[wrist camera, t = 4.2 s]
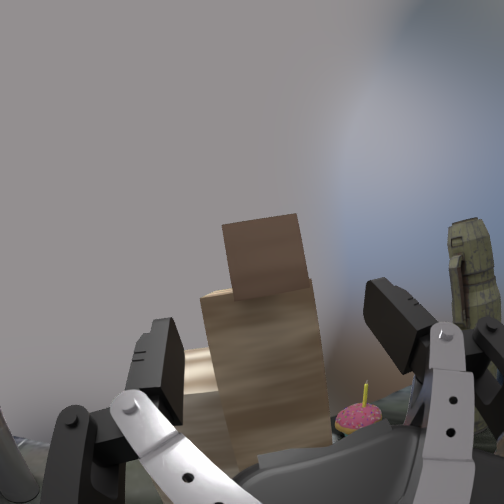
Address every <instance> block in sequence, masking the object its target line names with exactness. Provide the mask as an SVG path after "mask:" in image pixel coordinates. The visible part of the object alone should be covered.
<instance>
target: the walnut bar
mask: <svg viewBox="0 0 504 504" xmlns="http://www.w3.org/2000/svg"><path fill="white" fill-rule="evenodd" d="M222 230H223V236H224V243H225V248H226V255H227V261H228V266H229V273H230V279H231V284H232V290H233V296H234V302H235V301H241V300H247V299H253V298H258V297H264V296H270V295H275V294H280V293H286V292H291V291H296V290H301V289H306V288H310V283H309V277H308V272H307V266H306V261H305V255H304V250H303V244H302V239H301V234H300V229H299V224H298V219H297V214H296V213H295V214H288V215H282V216H275V217H269V218H262V219H256V220H249V221H242V222H237V223H230V224H225V225H222Z"/></svg>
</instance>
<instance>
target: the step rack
mask: <svg viewBox="0 0 504 504" xmlns="http://www.w3.org/2000/svg"><path fill="white" fill-rule="evenodd" d="M309 283H310V288H306V289H301V290H296V291H291V292H286V293H280V294H275V295H270V296H264V297H258V298H253V299H247V300H241V301H235V302H234V296H233V290H232V288H230V289H224V290H218V291H214V292H212V293H210V294H208V295H206V296H204V297H201V298H200V302H201V308H202V313H203V319H204V324H205V329H206V335H207V340H208V345H209V347H206V348H198V349H191V350H184V353H185V374H184V399H183V426H174V428H175V429H176V430H177V431H178V432H179V433H180V432H181V433H182V434H183V435H184V436H185V437H186V438H187V439H188V440H189V441H190V442H191V443H192V444H193V445H194V446H195V447H196V448H197V449H198V450H199V451H200V452H202V453H203V454H204V455H205V456H206V457H207V458H208V459H209V460H210V461H211V462H212V463H213V464H214V465H215V466H217V467H218V468H219V469H220V470H221V471H222V472H223V473H225V474H226V475H227V476H228V477H229V478H230V479H232V478H233V477H234V476H236V475H237V474H238V473H240V472H241V471H243V470H244V469H246V468H248V467H250V466H252V465H254V464H256V463H259V462H258V457H257V455H260V454H266V453H271V452H276V451H281V450H286V449H290V448H316V447H327V446H330V445H332V432H331V421H330V411H329V401H328V392H327V383H326V375H325V367H324V360H323V352H322V344H321V337H320V330H319V323H318V317H317V311H316V304H315V298H314V292H313V286H312V280H311V279H309ZM151 479H152V481H153V483H154V485H155V487H156V489H157V491H158V493H159V495H160V497H161V499H162V501H163V503H164V504H174V503H173V502H172V501H171V500H170V498H169V497H168V496H167V495H166V494H165V493H164V492H163V490H162V489H161V488H160V487H159V486H158V484H157V483H156V482H155V481H154V479H153V478H152V477H151Z"/></svg>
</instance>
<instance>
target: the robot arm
mask: <svg viewBox="0 0 504 504" xmlns="http://www.w3.org/2000/svg"><path fill="white" fill-rule="evenodd" d="M363 315H364V319H365V322H366V324H367V326H368V327H369V328H370V330H371V331H372V332H373V334H374V335H375V336H376V338H377V339H378V341H379V342H380V344H381V345H382V346H383V348H384V349H385V351H386V352H387V353H388V355H389V356H390V358H391V359H392V360H393V362H394V363H395V365H396V366H397V368H398V369H399V371H400V372H401V373H402V374H403V375H404V374H407V373H409V372H411V371H413V372H414V374H415V375H414V377H413V382H412V389H411V395H410V401H409V406H408V412H407V416H406V419H405V422H404V424H403V425H390V424H389V422H388V420H387V418H386V419H383V420H381V421H378V422H376V423H373V424H371V425H368V426H365V427H363V428H360V429H357V430H356V431H354V432H353V433H351V434H349V435H348V436H346V437H344V438H343V439H341V440H339V441H338V442H336V443H334V444H332V445H330V446H327V447H316V448H290V449H286V450H281V451H276V452H271V453H266V454H260V455H257V457H258V462H259V463H256V464H254V465H252V466H250V467H248V468H246V469H244V470H243V471H241V472H240V473H238V474H237V475H236V476H234V477H233V478H232V479H230V478H229V477H228V476H227V475H226V474H225V473H223V472H222V471H221V470H220V469H219V468H218V467H217V466H215V465H214V464H213V463H212V462H211V461H210V460H209V459H208V458H207V457H206V456H205V455H204V454H203V453H202V452H200V451H199V450H198V449H197V448H196V447H195V446H194V445H193V444H192V443H191V442H190V441H189V440H188V439H187V438H186V437H185V436H184V435H183V434H182V433H181V432H180V433H179V432H178V431H177V430H176V429H175V428H174V426H183V399H184V374H185V353H184V348H183V345H182V342H181V339H180V336H179V334H178V331H177V328H176V325H175V322H174V320H173V318H172V317H171V318H164V319H155V320H153V323H152V327H151V331H150V333H144V334H143V335H142V336H141V337H140V339H139V340H138V341H137V343H136V346H135V350H134V354H133V358H132V362H131V366H130V370H129V374H128V378H127V383H126V387H125V391H124V392H122V393H120V394H118V395H117V396H116V397H115V398H114V399H113V401H112V402H111V405H110V407H109V408H106V409H102V410H99V411H95V412H92V413H89V412H88V411H87V410H86V409H85V408H84V407H83V406H80V405H71V406H69V407H67V408H65V409H64V410H62V412H61V413H60V414H59V416H58V418H57V421H56V425H55V428H54V432H53V436H52V441H51V445H50V449H49V454H48V458H47V463H46V469H45V474H44V480H43V486H42V493H41V501H40V504H125V470H126V462H128V461H132V460H136V459H139V461H140V462H141V464H142V465H143V467H144V468H145V469H146V471H147V472H148V473H149V474H150V476H151V477H152V478H153V479H154V481H155V482H156V483H157V484H158V486H159V487H160V488H161V489H162V490H163V492H164V493H165V494H166V495H167V496H168V497H169V498H170V500H171V501H172V502H173V503H174V504H504V382H503V385H502V387H501V385H500V384H499V383H498V381H497V380H496V379H495V377H494V376H493V375H492V374H491V372H490V371H489V370H488V369H487V368H488V366H489V364H490V362H491V361H492V362H493V363H494V364H495V366H496V367H497V368H498V369H499V371H500V372H501V373H502V375H503V378H504V325H503V324H502V323H501V322H500V321H498V320H497V319H495V318H492V317H482V318H480V319H479V320H478V322H477V324H476V327H475V329H469V330H461V329H460V328H459V327H458V326H456V325H455V324H453V323H450V322H438V321H437V320H436V319H435V318H434V317H433V316H432V315H431V314H430V313H429V312H428V311H427V310H426V309H425V308H424V307H423V306H422V305H421V304H419V302H418V301H417V300H416V299H413V297H412V296H411V295H410V294H409V293H408V292H407V291H406V290H404V289H402V288H400V287H398V286H393V284H391V283H390V282H389V281H388V280H387V279H386V278H385V277H382V278H378V279H374V280H370V281H368V282H367V283H366V290H365V299H364V308H363ZM474 405H475V407H476V408H477V410H478V411H479V413H480V414H481V416H482V418H483V419H484V421H485V422H486V424H487V426H488V427H489V429H490V431H491V432H492V434H493V436H494V437H495V439H496V441H497V450H496V451H495V453H494V454H492V453H489V452H486V451H482V450H479V449H476V448H473V435H474ZM0 491H1V493H2V494H3V496H4V497H5V498H6V499H8V500H9V501H12V502H26V501H29V500H31V499H33V498H34V497H35V496H36V495H37V494H38V492H39V485H38V484H37V482H36V480H35V478H34V476H33V475H32V473H31V471H30V469H29V468H28V466H27V464H26V462H25V460H24V458H23V456H22V454H21V452H20V450H19V448H18V446H17V444H16V442H15V440H14V438H13V436H12V434H11V431H10V429H9V427H8V424H7V423H6V420H5V417H4V415H3V412H2V409H1V407H0Z"/></svg>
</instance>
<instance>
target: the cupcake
mask: <svg viewBox="0 0 504 504" xmlns="http://www.w3.org/2000/svg"><path fill="white" fill-rule="evenodd" d="M367 382H368V380H367V381H366V384H365V385H364V395H363V403H356V404H354V405H351V406H349V407H346V408H344V409H343V410H342V411H341V412H339V414H338V416H337V418H336V422H335V427H336V429H337V430H339V431H340V432H343V433H344V435H345V437H346V436H348V435H349V434H351V433H353V432H354V431H356V430H357V429H360V428H363V427H365V426H368V425H371V424H373V423H376V422H378V421H381V420H382V414H381V410H380V409H379V408H378V406H374V405H373V404H369V403H366V401H367V391H368V384H367Z"/></svg>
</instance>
